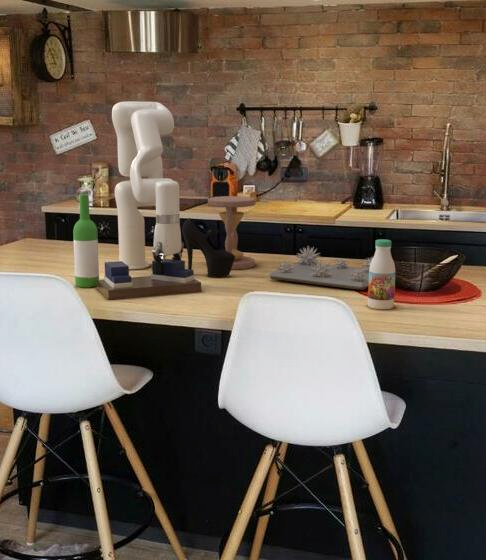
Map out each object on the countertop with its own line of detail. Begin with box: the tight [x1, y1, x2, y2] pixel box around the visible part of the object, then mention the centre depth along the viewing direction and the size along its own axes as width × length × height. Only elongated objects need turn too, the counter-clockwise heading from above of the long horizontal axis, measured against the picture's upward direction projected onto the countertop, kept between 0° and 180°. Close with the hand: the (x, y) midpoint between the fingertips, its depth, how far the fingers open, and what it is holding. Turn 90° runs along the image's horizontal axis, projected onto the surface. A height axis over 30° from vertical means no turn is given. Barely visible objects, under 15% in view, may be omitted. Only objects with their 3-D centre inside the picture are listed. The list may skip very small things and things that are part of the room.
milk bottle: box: [367, 238, 396, 310], centre depth 232 cm, size 8×8×20 cm
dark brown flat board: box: [96, 275, 202, 301], centre depth 253 cm, size 16×30×3 cm, turn 113°
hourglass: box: [207, 195, 256, 271], centre depth 292 cm, size 18×18×25 cm
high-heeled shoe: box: [181, 217, 235, 279], centre depth 274 cm, size 8×19×20 cm, turn 78°
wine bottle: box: [72, 193, 100, 289], centre depth 256 cm, size 8×8×30 cm
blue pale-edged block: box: [150, 258, 196, 283], centre depth 255 cm, size 13×6×6 cm, turn 63°
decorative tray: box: [268, 246, 373, 291], centre depth 270 cm, size 35×26×10 cm
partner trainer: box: [103, 260, 133, 289], centre depth 248 cm, size 13×6×6 cm, turn 23°
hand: (168, 272), depth 256 cm, fingers open, 9 cm apart
